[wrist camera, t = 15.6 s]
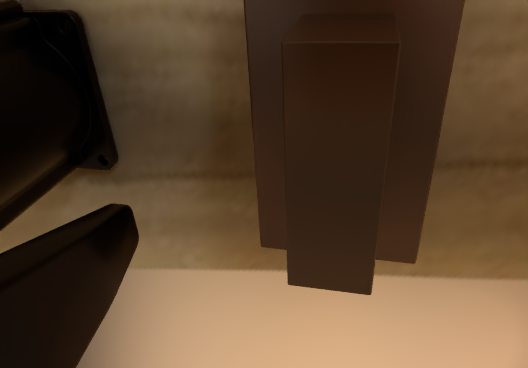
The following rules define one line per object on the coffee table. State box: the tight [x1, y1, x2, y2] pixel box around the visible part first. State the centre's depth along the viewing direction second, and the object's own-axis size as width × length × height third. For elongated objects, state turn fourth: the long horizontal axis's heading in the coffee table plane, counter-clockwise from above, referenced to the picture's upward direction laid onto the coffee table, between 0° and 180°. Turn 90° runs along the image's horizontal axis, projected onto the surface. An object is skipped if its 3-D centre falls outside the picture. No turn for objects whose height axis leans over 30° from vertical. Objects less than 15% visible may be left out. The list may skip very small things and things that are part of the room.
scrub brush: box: [244, 0, 465, 295], centre depth 13 cm, size 10×6×6 cm, turn 3°
